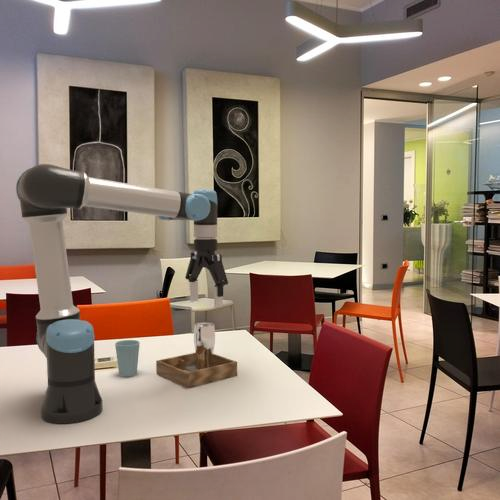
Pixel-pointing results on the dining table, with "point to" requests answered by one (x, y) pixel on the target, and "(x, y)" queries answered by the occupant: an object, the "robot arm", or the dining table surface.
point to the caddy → (188, 377)
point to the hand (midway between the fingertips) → (206, 304)
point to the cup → (127, 357)
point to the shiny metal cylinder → (204, 344)
